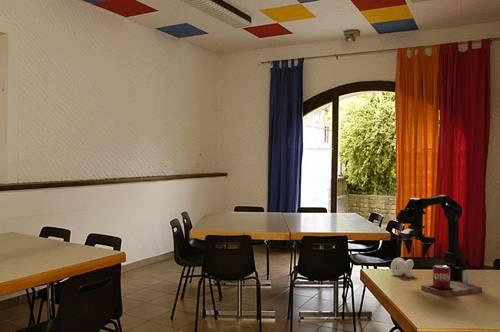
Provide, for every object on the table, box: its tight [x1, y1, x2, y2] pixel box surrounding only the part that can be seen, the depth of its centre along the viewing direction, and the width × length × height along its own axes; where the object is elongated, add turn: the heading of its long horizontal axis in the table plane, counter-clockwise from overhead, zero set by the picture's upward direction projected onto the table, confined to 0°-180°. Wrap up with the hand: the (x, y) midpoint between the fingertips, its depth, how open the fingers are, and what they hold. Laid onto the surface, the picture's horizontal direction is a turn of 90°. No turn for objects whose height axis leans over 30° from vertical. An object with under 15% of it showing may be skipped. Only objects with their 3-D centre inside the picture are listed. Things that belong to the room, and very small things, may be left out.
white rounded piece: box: [390, 257, 415, 278], centre depth 233 cm, size 11×12×9 cm
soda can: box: [432, 264, 451, 291], centre depth 200 cm, size 7×7×12 cm
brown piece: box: [420, 270, 483, 298], centre depth 203 cm, size 25×13×8 cm, turn 115°
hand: (416, 255), depth 212 cm, fingers open, 9 cm apart
